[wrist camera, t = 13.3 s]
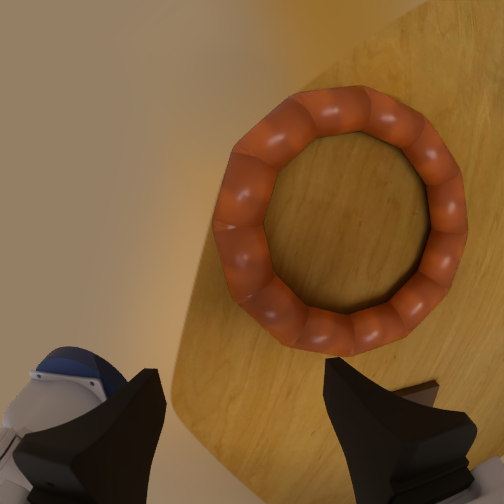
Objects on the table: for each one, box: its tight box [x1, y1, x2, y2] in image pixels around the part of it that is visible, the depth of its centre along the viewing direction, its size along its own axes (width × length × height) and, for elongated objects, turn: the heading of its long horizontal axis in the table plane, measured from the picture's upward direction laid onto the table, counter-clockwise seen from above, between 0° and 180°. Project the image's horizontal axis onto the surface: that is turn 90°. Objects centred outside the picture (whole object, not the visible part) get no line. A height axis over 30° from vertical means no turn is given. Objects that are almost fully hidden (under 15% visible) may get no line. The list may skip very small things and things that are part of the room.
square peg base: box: [392, 380, 439, 407], centre depth 22 cm, size 8×8×6 cm
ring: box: [212, 86, 468, 357], centre depth 19 cm, size 18×18×3 cm
